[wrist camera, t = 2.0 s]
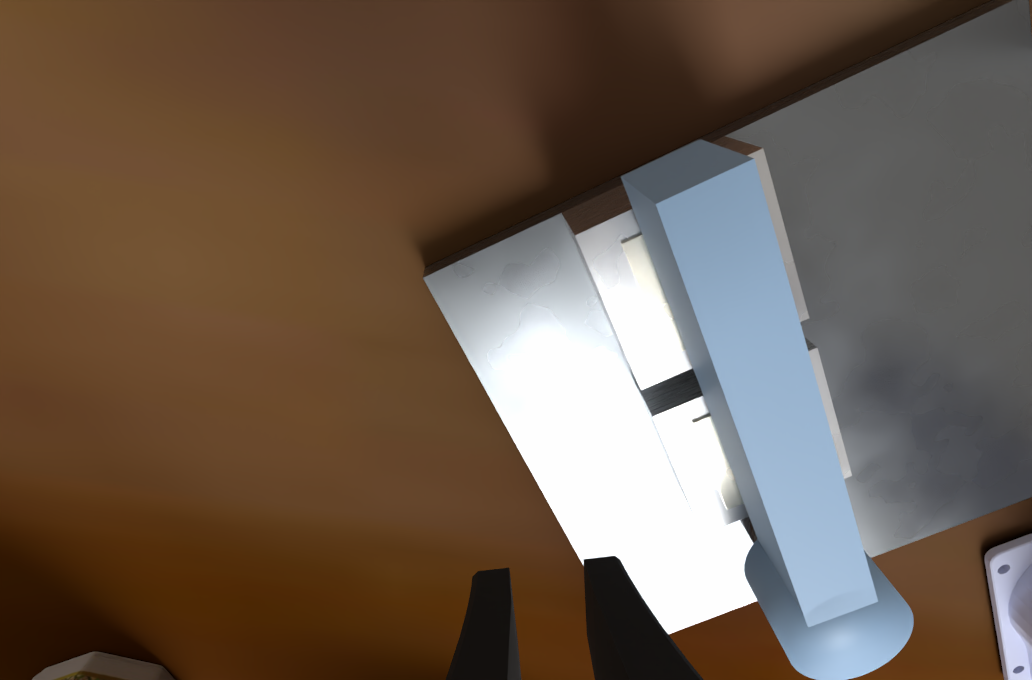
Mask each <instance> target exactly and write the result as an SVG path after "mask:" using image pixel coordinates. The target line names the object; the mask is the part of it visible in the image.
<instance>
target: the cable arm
mask: <svg viewBox="0 0 1032 680" xmlns="http://www.w3.org/2000/svg"><path fill="white" fill-rule="evenodd" d="M621 179H622V182H623V184H624V187H625V190H626V192H627V195H628V198H629V200H630V203H631V206H632V208H633V211H634V214H635V216H636V219H637V221H638V224H639V227H640V229H641V232H642V235H643V237H644V240H645V243H646V245H647V248H648V251H649V253H650V256H651V258H652V261H653V264H654V266H655V269H656V272H657V274H658V277H659V280H660V282H661V285H662V288H663V290H664V293H665V296H666V298H667V301H668V303H669V306H670V309H671V311H672V314H673V317H674V319H675V322H676V325H677V327H678V330H679V333H680V335H681V338H682V341H683V343H684V346H685V348H686V351H687V354H688V356H689V359H690V362H691V364H692V367H693V370H694V372H695V375H696V378H697V380H698V383H699V385H700V388H701V391H702V393H703V396H704V399H705V401H706V404H707V407H708V409H709V412H710V415H711V417H712V420H713V423H714V425H715V428H716V430H717V433H718V436H719V438H720V441H721V444H722V446H723V449H724V452H725V454H726V457H727V460H728V462H729V465H730V467H731V470H732V473H733V475H734V478H735V481H736V483H737V486H738V489H739V491H740V494H741V497H742V499H743V502H744V505H745V507H746V510H747V512H748V515H749V518H750V520H751V523H752V526H753V528H754V531H755V534H756V536H757V540H756V541H755V543H754V544H753V545H752V547H751V548H750V550H749V552H748V554H747V556H746V560H745V564H744V572H745V577H746V580H747V582H748V584H749V585H750V587H751V589H752V591H753V593H754V595H755V597H756V599H757V600H758V602H759V604H760V606H761V608H762V610H763V612H764V614H765V615H766V617H767V619H768V621H769V623H770V625H771V627H772V629H773V630H774V632H775V634H776V636H777V638H778V640H779V642H780V644H781V645H782V647H783V649H784V651H785V653H786V655H787V657H788V659H789V660H790V662H791V664H792V665H793V667H794V668H795V669H796V670H797V671H798V672H800V673H801V674H803V675H805V676H807V677H809V678H813V679H816V680H847V679H851V678H855V677H858V676H862V675H864V674H867V673H869V672H871V671H873V670H875V669H877V668H879V667H881V666H882V665H884V664H886V663H887V662H888V661H890V660H891V659H892V658H893V657H894V656H896V655H897V654H898V653H899V652H900V650H901V649H902V648H903V647H904V645H905V644H906V643H907V641H908V639H909V637H910V635H911V632H912V629H913V614H912V611H911V609H910V607H909V606H908V604H907V603H906V602H905V600H904V599H903V598H902V597H901V595H900V594H899V593H898V592H897V590H896V589H895V588H894V587H893V585H892V584H891V583H890V582H889V580H888V579H887V578H886V577H885V575H884V574H883V573H882V572H881V570H880V569H879V568H878V567H877V566H876V564H875V563H874V562H873V561H872V559H871V558H870V557H869V556H868V554H867V553H866V552H865V551H864V549H863V545H862V542H861V538H860V534H859V531H858V527H857V524H856V520H855V517H854V513H853V509H852V506H851V502H850V499H849V495H848V492H847V488H846V484H845V481H844V477H843V474H842V470H841V466H840V463H839V459H838V456H837V452H836V449H835V445H834V441H833V438H832V434H831V431H830V427H829V424H828V420H827V416H826V413H825V409H824V406H823V402H822V399H821V395H820V391H819V388H818V384H817V381H816V377H815V374H814V370H813V366H812V363H811V359H810V356H809V352H808V348H807V345H806V341H805V338H804V334H803V331H802V327H801V323H800V320H799V316H798V313H797V309H796V306H795V302H794V298H793V295H792V291H791V288H790V284H789V281H788V277H787V273H786V270H785V266H784V263H783V259H782V256H781V252H780V248H779V245H778V241H777V238H776V234H775V231H774V227H773V223H772V220H771V216H770V213H769V209H768V205H767V202H766V198H765V195H764V191H763V188H762V184H761V180H760V177H759V173H758V170H757V166H756V163H755V159H754V158H752V157H749V156H746V155H743V154H741V153H738V152H735V151H732V150H729V149H726V148H724V147H721V146H718V145H715V144H712V143H710V142H707V141H704V140H701V139H699V140H697V141H695V142H693V143H691V144H689V145H687V146H685V147H682V148H680V149H678V150H676V151H674V152H672V153H670V154H668V155H665V156H663V157H661V158H659V159H657V160H655V161H653V162H651V163H649V164H646V165H644V166H642V167H640V168H638V169H636V170H634V171H632V172H629V173H627V174H625V175H623V176H621Z"/></svg>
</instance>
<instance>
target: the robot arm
mask: <svg viewBox="0 0 1032 680" xmlns="http://www.w3.org/2000/svg"><path fill="white" fill-rule="evenodd" d="M984 560H985V566H986V572H987V578H988V585H989V591H990V597H991V603H992V609H993V615H994V621H995V627H996V633H997V639H998V645H999V651H1000V657H1001V663H1002V669H1003V675H1004V680H1032V533H1031V534H1028V535H1025V536H1023V537H1020V538H1017V539H1015V540H1012V541H1009V542H1007V543H1004V544H1001V545H998V546H996V547H993V548H991V549H990V550H989V551H988V552H987V553H986V554H985V559H984ZM584 579H585V601H586V622H587V637H588V642H589V648H590V654H591V659H592V665H593V671H594V676H595V680H703V679H702V677H701V676H700V675H699V674H698V673H697V671H696V670H695V669H694V668H693V666H692V665H691V664H690V663H689V661H688V660H687V659H686V657H685V656H684V655H683V654H682V652H681V651H680V650H679V648H678V647H677V646H676V644H675V643H674V642H673V640H672V639H671V638H670V636H669V635H668V634H667V632H666V631H665V629H664V628H663V627H662V625H661V624H660V623H659V621H658V620H657V618H656V617H655V615H654V614H653V613H652V611H651V610H650V608H649V607H648V605H647V604H646V602H645V601H644V599H643V598H642V596H641V594H640V593H639V591H638V590H637V588H636V587H635V585H634V583H633V582H632V580H631V578H630V576H629V575H628V573H627V571H626V569H625V568H624V566H623V564H622V562H621V560H620V559H619V558H617V557H616V556H607V557H598V558H589V559H584ZM446 680H521V673H520V662H519V651H518V641H517V632H516V623H515V614H514V606H513V597H512V588H511V579H510V571H509V568H503V569H494V570H486V571H478V572H477V573H476V574H475V575H474V576H473V578H472V587H471V593H470V598H469V603H468V608H467V612H466V616H465V620H464V623H463V627H462V631H461V634H460V638H459V641H458V644H457V647H456V650H455V653H454V656H453V659H452V663H451V666H450V669H449V672H448V675H447V677H446Z"/></svg>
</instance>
